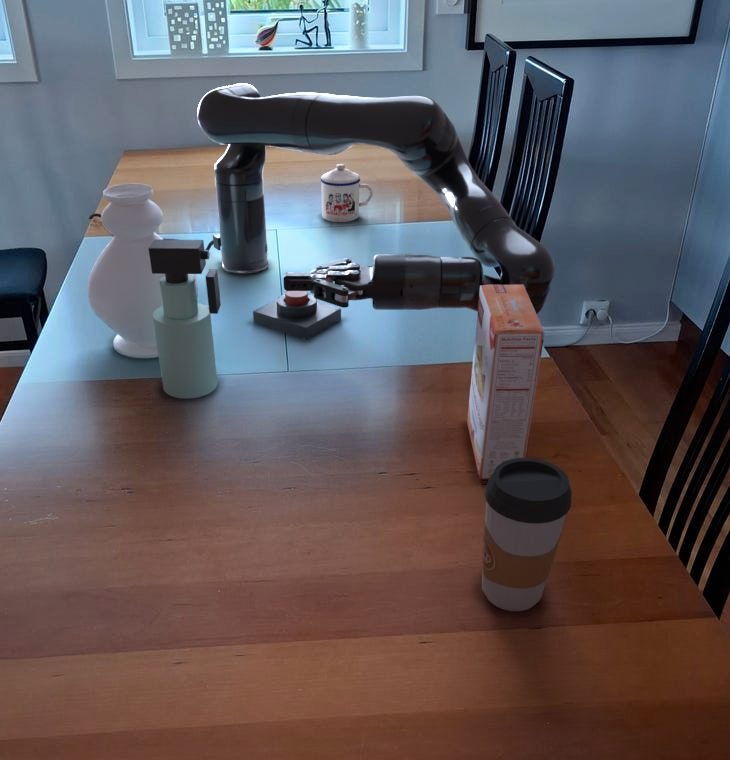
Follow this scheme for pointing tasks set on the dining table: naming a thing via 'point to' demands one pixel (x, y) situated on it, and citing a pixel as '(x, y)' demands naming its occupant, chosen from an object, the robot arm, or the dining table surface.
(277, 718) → the dining table surface
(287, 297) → the button
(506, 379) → the cracker box
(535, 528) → the coffee cup
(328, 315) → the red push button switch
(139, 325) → the decorative vase
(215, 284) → the trigger
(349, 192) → the teacup with lid
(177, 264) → the spray bottle
